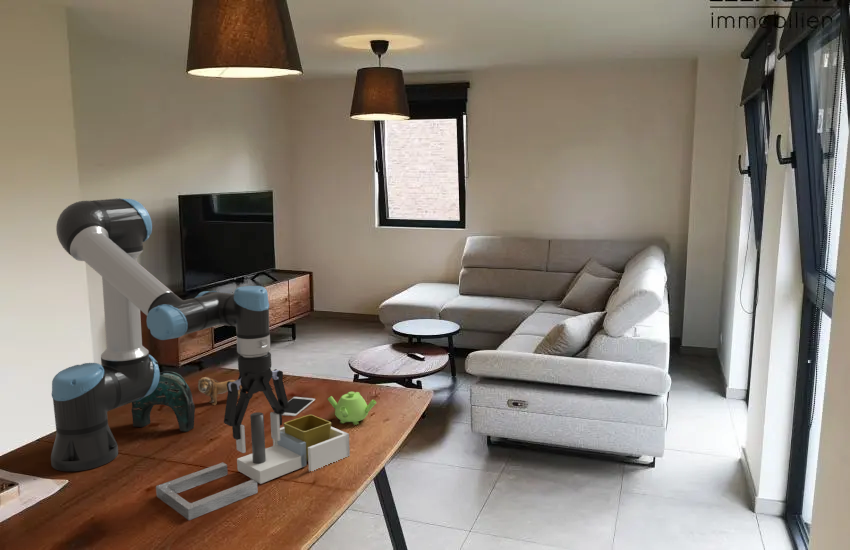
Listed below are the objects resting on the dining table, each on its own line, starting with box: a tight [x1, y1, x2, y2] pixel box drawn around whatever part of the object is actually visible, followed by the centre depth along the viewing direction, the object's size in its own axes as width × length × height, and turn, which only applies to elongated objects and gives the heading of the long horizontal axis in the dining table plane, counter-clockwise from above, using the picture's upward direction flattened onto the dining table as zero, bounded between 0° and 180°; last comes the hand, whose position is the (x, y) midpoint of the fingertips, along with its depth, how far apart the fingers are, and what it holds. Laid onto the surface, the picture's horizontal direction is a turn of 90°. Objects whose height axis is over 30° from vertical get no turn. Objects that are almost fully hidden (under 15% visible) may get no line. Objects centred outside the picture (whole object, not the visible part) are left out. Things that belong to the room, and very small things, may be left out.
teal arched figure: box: [131, 360, 196, 432], centre depth 190 cm, size 20×6×20 cm, turn 75°
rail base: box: [155, 462, 259, 521], centre depth 152 cm, size 16×15×2 cm
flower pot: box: [283, 414, 332, 462], centre depth 171 cm, size 9×9×9 cm
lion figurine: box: [197, 376, 242, 406], centre depth 210 cm, size 15×5×9 cm, turn 122°
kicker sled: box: [236, 411, 308, 485], centre depth 163 cm, size 13×10×15 cm
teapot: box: [327, 391, 377, 426], centre depth 194 cm, size 11×12×8 cm
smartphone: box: [282, 396, 316, 417], centre depth 207 cm, size 8×1×15 cm
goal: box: [272, 426, 351, 472], centre depth 172 cm, size 12×16×6 cm
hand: (258, 444), depth 160 cm, fingers open, 9 cm apart
